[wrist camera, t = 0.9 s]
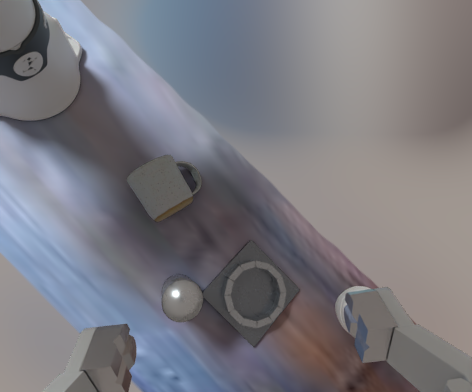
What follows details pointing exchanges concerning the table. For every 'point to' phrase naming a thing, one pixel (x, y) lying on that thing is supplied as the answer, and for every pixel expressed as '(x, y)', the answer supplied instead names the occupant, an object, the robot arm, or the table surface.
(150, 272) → the table surface
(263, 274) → the duct flange
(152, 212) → the ceramic mug
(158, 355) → the table surface
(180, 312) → the lidded canister
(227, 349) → the table surface
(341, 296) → the spinning top
